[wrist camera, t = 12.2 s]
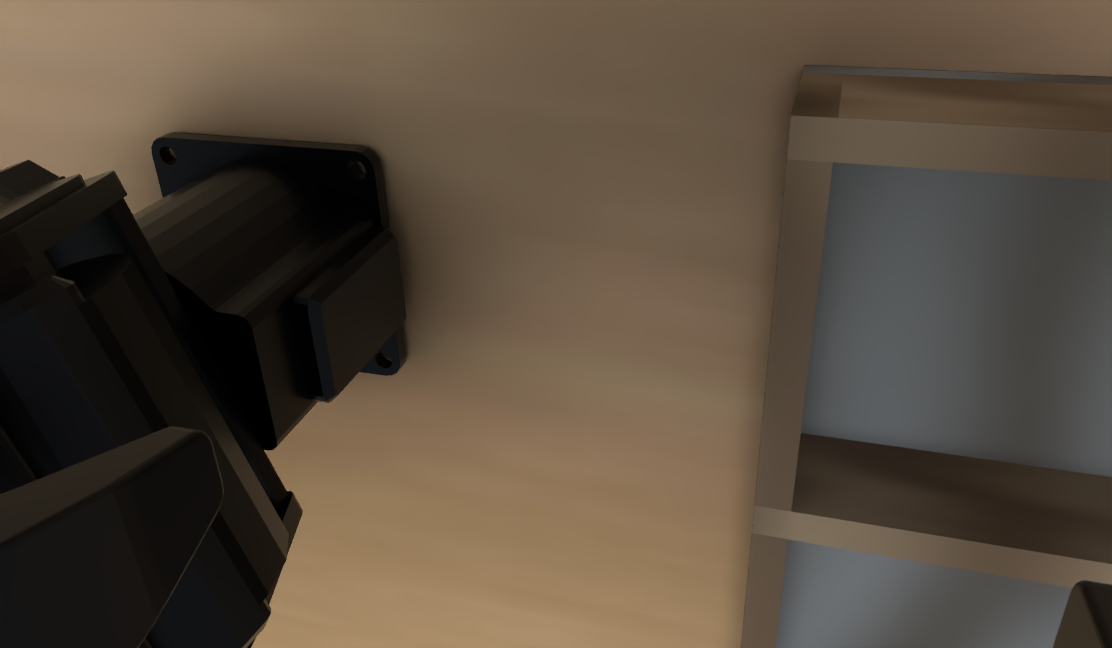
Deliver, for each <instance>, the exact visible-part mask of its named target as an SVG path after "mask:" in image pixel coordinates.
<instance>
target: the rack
mask: <svg viewBox="0 0 1112 648" xmlns="http://www.w3.org/2000/svg"><path fill="white" fill-rule="evenodd" d="M1082 580H1087V581H1093V582H1099V583H1105V584H1111V585H1112V77H1095V76H1070V75H1044V74H1018V73H993V72H967V71H942V70H916V69H890V68H865V67H839V66H813V65H804V69H803V72H802V76H801V80H800V84H799V87H798V91H797V95H796V98H795V102H794V106H793V110H792V113H791V120H790V130H789V141H788V152H787V162H786V173H785V184H784V194H783V205H782V216H781V226H780V237H779V248H778V258H777V269H776V280H775V290H774V301H773V312H772V322H771V333H770V344H769V355H768V365H767V376H766V387H765V397H764V408H763V419H762V429H761V440H760V451H759V461H758V472H757V483H756V493H755V504H754V515H753V525H752V536H751V547H750V557H749V568H748V579H747V589H746V600H745V611H744V621H743V632H742V643H741V648H1053V645H1054V641H1055V638H1056V635H1057V632H1058V629H1059V626H1060V623H1061V620H1062V617H1063V614H1064V610H1065V607H1066V604H1067V601H1068V598H1069V595H1070V592H1071V590H1072V588H1073V587H1074V585H1075V584H1076V583H1077V582H1080V581H1082Z"/></svg>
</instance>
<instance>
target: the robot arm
mask: <svg viewBox="0 0 1112 648" xmlns="http://www.w3.org/2000/svg"><path fill="white" fill-rule="evenodd" d="M169 148H171V149H172V150H173V151H174V152H175V154H176V159H175V158H174V157H173V156H172V155H171V153H170V151H169ZM152 156H153V160H154V164H155V168H156V172H157V176H158V180H159V184H160V188H161V191H162V195H163V199H161V200H159V201H157V202H156V203H154V204H152V205H150V206H149V207H147V208H145V209H143V210H142V211H140V212H138V213H136V214H135V215H133V214H132V213H131V211H130V209H129V207H128V205H127V204H126V202H125V200H124V197H125V196H126V195H127V193H126V191H125V189H124V187H123V186H122V184H121V182H120V180H119V178H118V177H117V175H116V173H115V171H110V172H107V173H104V174H101V175H98V176H95V177H92V178H89V179H86V180H83V178H82V177H81V175H80V174H79V175H75V176H71V177H68V178H65V176H62V177H58V176H56V175H55V174H53V173H51V172H49V171H48V170H46V169H44V168H42V167H41V166H39V165H37V164H35V163H34V162H32V161H30V160H27V161H24V162H21V163H18V164H16V165H13V166H10V167H7V168H5V169H3V170H1V171H0V648H251V646H252V644H253V642H254V640H255V638H256V637H257V635H258V634H259V633H260V632H261V631H262V630H263V629H264V627H265V625H266V623H267V621H268V618H269V616H270V614H271V608H270V606H269V603H270V601H271V598H272V595H273V592H274V590H275V587H276V584H277V581H278V579H279V576H280V573H281V571H282V568H283V565H284V563H285V562H286V558H287V554H288V551H289V549H290V546H291V543H292V540H293V538H294V535H295V532H296V529H297V527H298V524H299V521H300V518H301V516H302V513H303V510H302V508H301V507H300V505H299V503H298V501H297V499H296V498H295V496H294V494H293V493H292V492H291V491H286V489H285V487H284V485H283V484H282V482H281V480H280V478H279V476H278V475H277V473H276V471H275V469H274V467H273V466H272V464H271V462H270V460H269V458H268V457H267V455H266V453H265V451H264V450H273V449H275V448H276V447H277V446H278V444H279V443H280V442H281V441H282V440H283V439H284V438H285V437H286V436H287V435H288V434H289V433H290V431H291V430H292V429H293V428H294V427H295V426H296V425H297V424H298V423H299V422H300V421H301V419H302V418H303V417H304V416H305V415H306V414H307V413H308V412H309V411H310V410H311V409H312V407H313V406H314V405H315V404H316V403H317V402H318V401H320V402H326V403H329V402H331V401H332V400H333V399H334V398H335V397H337V396H338V395H339V394H340V392H341V391H342V390H343V389H344V388H345V387H346V386H347V385H348V383H349V382H350V381H351V380H352V379H353V378H354V377H355V376H356V375H357V373H358V372H364V373H371V374H378V375H385V376H387V375H393V374H395V373H397V372H398V371H399V370H400V368H401V367H402V366H403V365H404V363H405V361H406V349H405V341H404V333H403V325H402V323H403V322H404V321H405V319H406V310H405V302H404V294H403V286H402V278H401V271H400V263H399V255H398V247H397V239H396V236H395V235H394V233H393V232H392V230H391V229H390V225H389V218H388V210H387V202H386V194H385V187H384V179H383V171H382V165H381V162H380V159H379V158H378V156H377V155H376V153H375V152H374V151H372V150H371V149H369V148H367V147H364V146H357V145H343V144H329V143H315V142H300V141H286V140H272V139H258V138H243V137H229V136H215V135H201V134H186V133H168V134H165V135H163V136H161V137H159V138H157V139H156V140H155V141H154V142H153V145H152ZM355 161H358V162H360V163H361V164H362V165H363V166H364V168H365V170H366V174H365V175H364V174H361V173H360V172H359V171H358V170H357V169H356V167H355ZM382 352H383V353H386V354H388V355H389V356H390V357H391V360H392V361H390V360H387V359H386V358H385V357H384V356H383V354H382ZM1053 648H1112V585H1111V584H1105V583H1099V582H1093V581H1087V580H1082V581H1080V582H1077V583H1076V584H1075V585H1074V587H1073V588H1072V590H1071V592H1070V595H1069V598H1068V601H1067V604H1066V607H1065V610H1064V614H1063V617H1062V620H1061V623H1060V626H1059V629H1058V632H1057V635H1056V638H1055V641H1054V645H1053Z"/></svg>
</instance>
